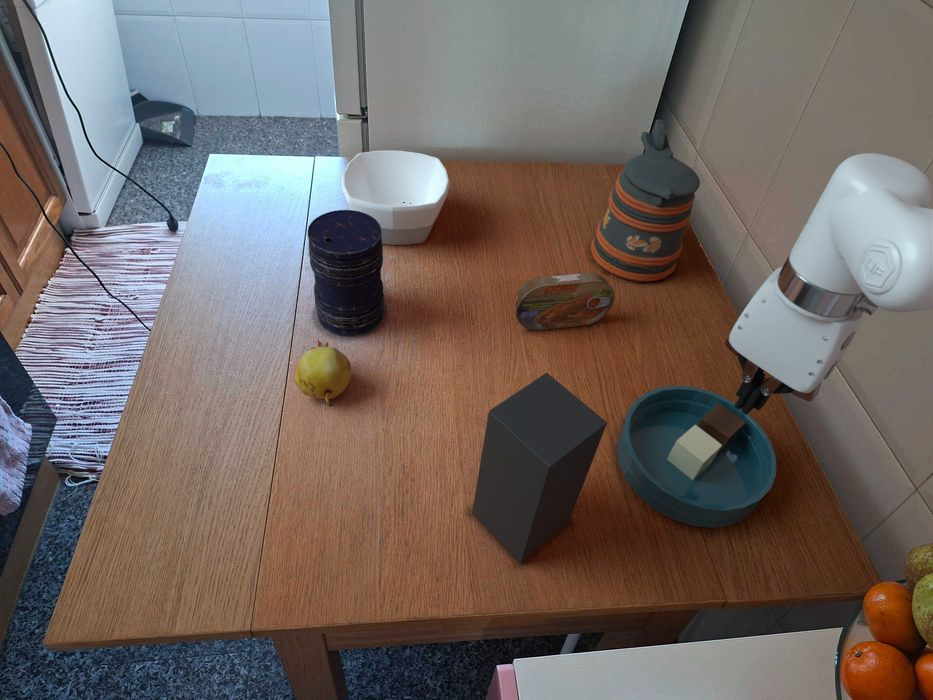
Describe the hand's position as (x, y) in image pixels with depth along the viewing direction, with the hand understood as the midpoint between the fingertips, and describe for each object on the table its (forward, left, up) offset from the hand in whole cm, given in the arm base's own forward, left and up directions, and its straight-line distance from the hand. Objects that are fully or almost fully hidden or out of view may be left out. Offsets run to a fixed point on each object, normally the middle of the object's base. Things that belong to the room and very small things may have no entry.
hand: (746, 405), depth 75 cm
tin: (+30, -3, -11) cm, 32 cm away
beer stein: (+35, -27, -11) cm, 45 cm away
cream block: (+2, +3, -10) cm, 11 cm away
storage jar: (+50, +21, -11) cm, 55 cm away
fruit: (+40, +32, -11) cm, 52 cm away
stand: (+10, +25, -11) cm, 29 cm away
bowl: (+64, +2, -11) cm, 65 cm away
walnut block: (+2, -2, -10) cm, 11 cm away
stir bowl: (+2, +3, -11) cm, 11 cm away
